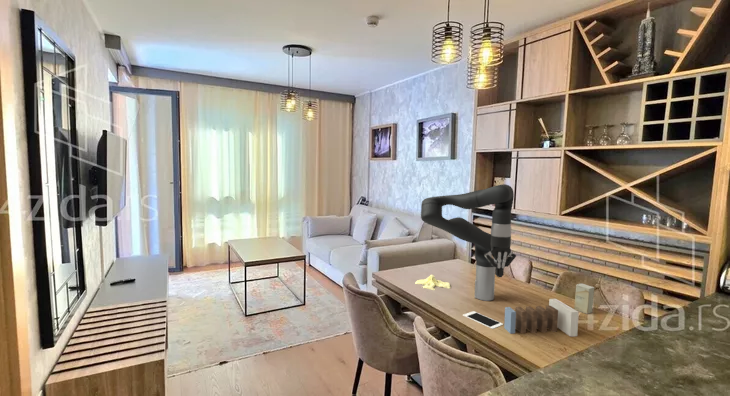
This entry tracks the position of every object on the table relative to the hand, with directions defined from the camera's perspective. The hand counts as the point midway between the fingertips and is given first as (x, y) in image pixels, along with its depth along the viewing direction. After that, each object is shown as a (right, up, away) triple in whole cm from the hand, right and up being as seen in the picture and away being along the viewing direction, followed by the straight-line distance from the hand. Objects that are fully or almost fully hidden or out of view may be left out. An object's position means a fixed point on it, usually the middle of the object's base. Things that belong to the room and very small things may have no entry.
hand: (499, 276), depth 141 cm
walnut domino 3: (+19, -23, +4) cm, 30 cm away
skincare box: (+48, -21, +23) cm, 58 cm away
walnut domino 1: (+10, -23, +3) cm, 25 cm away
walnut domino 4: (+23, -23, +5) cm, 33 cm away
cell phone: (-2, -23, +13) cm, 26 cm away
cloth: (-16, -18, +60) cm, 65 cm away
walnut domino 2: (+14, -23, +4) cm, 27 cm away
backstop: (+28, -23, +5) cm, 37 cm away
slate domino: (+5, -23, +3) cm, 24 cm away
